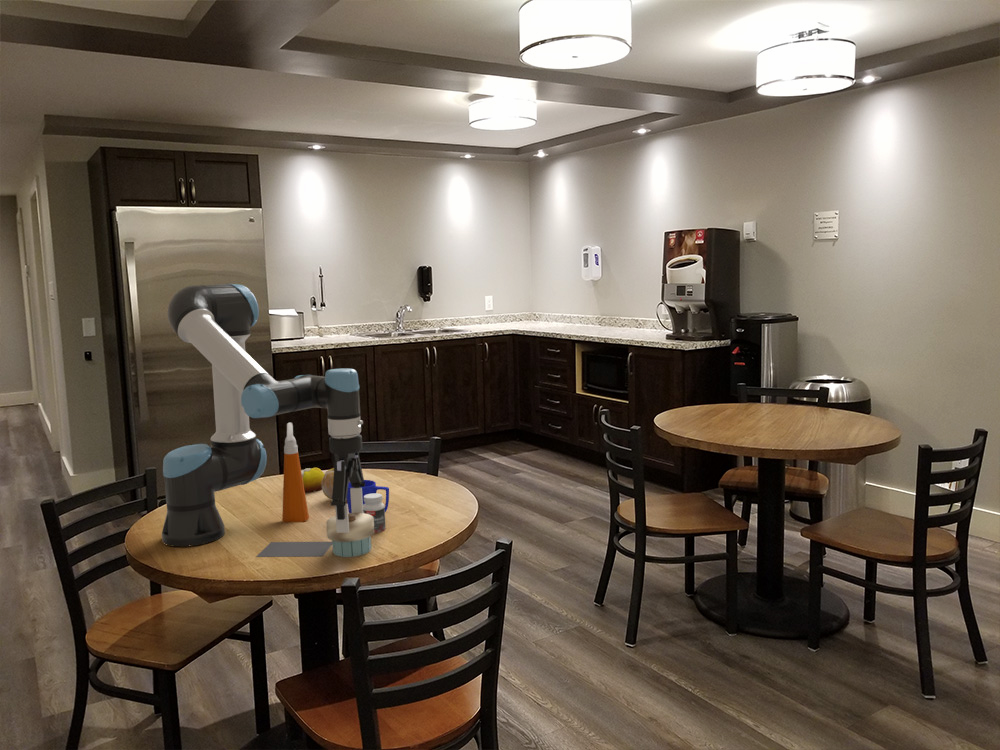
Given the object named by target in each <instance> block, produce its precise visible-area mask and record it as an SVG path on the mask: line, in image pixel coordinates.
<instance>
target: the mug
mask: <svg viewBox="0 0 1000 750" xmlns="http://www.w3.org/2000/svg"><path fill="white" fill-rule="evenodd" d="M364 482H365V487H360V488H362V499H363V505H364V504H365V502H364V496H365V495H367V494H372V493H378V492H377V491H378V490H382V491H385V503H384V506H385V513H387V510H388V508H389V501H390V500H389V499H390V487H387V486H381V485H380V486H379V485H377V483H376V481H374V480H371V479H364ZM350 488H354V487H352V486H351V483H350V482H349V485H348V492H347V500H346V504H348V513H352V510H351V493H350Z"/></svg>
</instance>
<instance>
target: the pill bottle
mask: <svg viewBox="0 0 1000 750" xmlns="http://www.w3.org/2000/svg"><path fill="white" fill-rule="evenodd" d="M382 501H383V494H382V493H378V492H376V493H372V494H367V495H365V496H364V502H365V504H364V505H363V513H365V514H369V515H371V516H373V518H374V534H378V533H382V532H383V531H386V529H387V528H386V512H385V503H383V502H382Z"/></svg>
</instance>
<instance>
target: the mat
mask: <svg viewBox="0 0 1000 750" xmlns="http://www.w3.org/2000/svg"><path fill="white" fill-rule="evenodd" d="M331 547H332V541H270V542H269V544H268V545H266V546H265V547H264V548H263V549H262V550H261V551H260V552H259V553H258V554H257V555H256V556H255V557H256V558H282V557H283V558H287V557H289V558H290V557H291V558H292V557H293V558H294V557H295V558H296V557H297V558H300V557H301V558H303V557H307V558H308V557H310V558H311V557H313V558H315V557H317V558H319V557H324V555H325V554H326V553H327V552H328V550H329V549H330V548H331Z"/></svg>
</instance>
